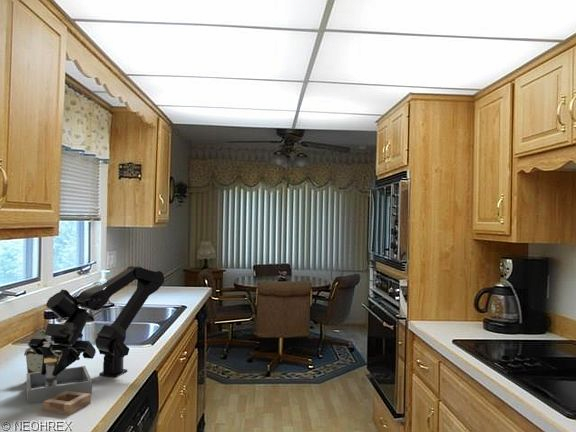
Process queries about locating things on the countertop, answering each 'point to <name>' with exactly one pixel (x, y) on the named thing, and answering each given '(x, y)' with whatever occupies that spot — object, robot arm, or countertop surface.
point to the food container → (36, 360)
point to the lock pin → (51, 370)
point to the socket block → (67, 402)
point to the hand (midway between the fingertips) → (48, 375)
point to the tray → (52, 391)
